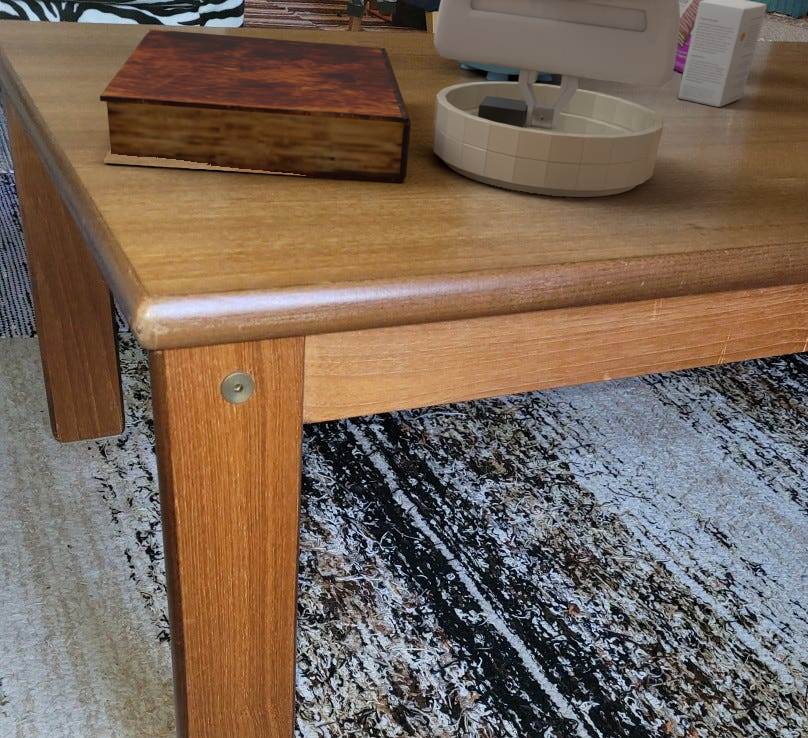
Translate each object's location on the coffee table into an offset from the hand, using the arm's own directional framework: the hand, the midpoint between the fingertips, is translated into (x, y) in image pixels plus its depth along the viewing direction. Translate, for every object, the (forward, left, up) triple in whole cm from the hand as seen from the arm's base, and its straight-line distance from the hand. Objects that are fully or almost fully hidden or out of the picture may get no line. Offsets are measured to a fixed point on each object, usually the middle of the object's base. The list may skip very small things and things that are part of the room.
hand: (541, 127), depth 86 cm
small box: (-16, -42, -3) cm, 45 cm away
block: (+3, 0, -2) cm, 4 cm away
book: (+25, +1, -3) cm, 26 cm away
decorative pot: (+9, -41, -3) cm, 42 cm away
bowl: (0, 0, -3) cm, 3 cm away
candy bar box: (-14, -59, -3) cm, 61 cm away
